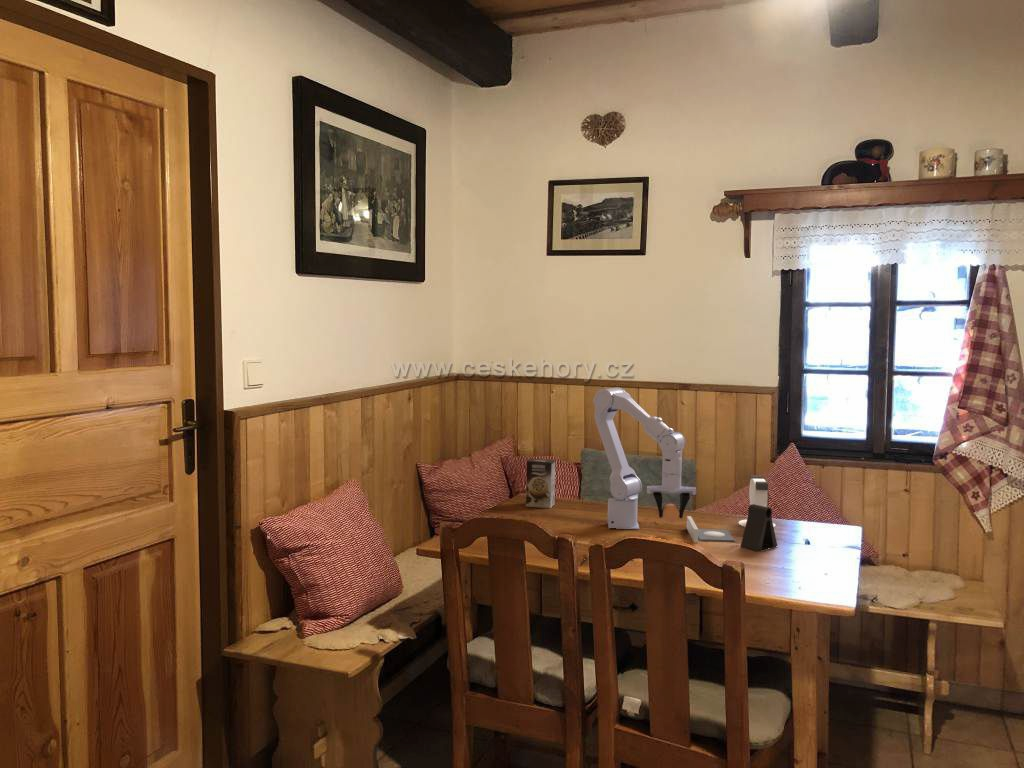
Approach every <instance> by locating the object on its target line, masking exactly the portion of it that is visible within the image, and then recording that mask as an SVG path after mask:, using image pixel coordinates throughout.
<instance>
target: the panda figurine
mask: <svg viewBox="0 0 1024 768" xmlns="http://www.w3.org/2000/svg"><path fill="white" fill-rule="evenodd" d="M749 480H750V481H749V490H748V491H749V492H748V493H749V496H748V497H749V506H750V505H753V504H755V505H759V506H763V507H768V504H769V499H770V498H769V497H770V496H769V495H770V493H769V482H768V481H766V479H764V478H763V476H762V475H750V477H749ZM746 522H747V519H742V520H741V519H740V520H739V521H738V525H739V526H740V525H741V527H743V526H744V527H743V528H745V526H746ZM775 526H777V525H776V523H774V522H773V527H775ZM775 528H776V527H775Z"/></svg>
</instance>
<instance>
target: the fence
mask: <svg viewBox="0 0 1024 768" xmlns="http://www.w3.org/2000/svg"><path fill="white" fill-rule="evenodd" d="M698 529H699V528H698V526H697V525H696V523H695V521H694V519H693V517H692V516H691V515H687V516H686V531H687V532H688V534H689V536H690V538H691V540H692V542H693V543H695V544H696V543H697V544H699V538H698Z"/></svg>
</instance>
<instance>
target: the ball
mask: <svg viewBox="0 0 1024 768" xmlns="http://www.w3.org/2000/svg"><path fill="white" fill-rule="evenodd" d="M679 516H680V507H679V506H678V505H676V504H673V503H667V504H665V505H664V506H662V519H664V521H666V522H669V523H674V522H677V520H679V519H680V517H679Z"/></svg>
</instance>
